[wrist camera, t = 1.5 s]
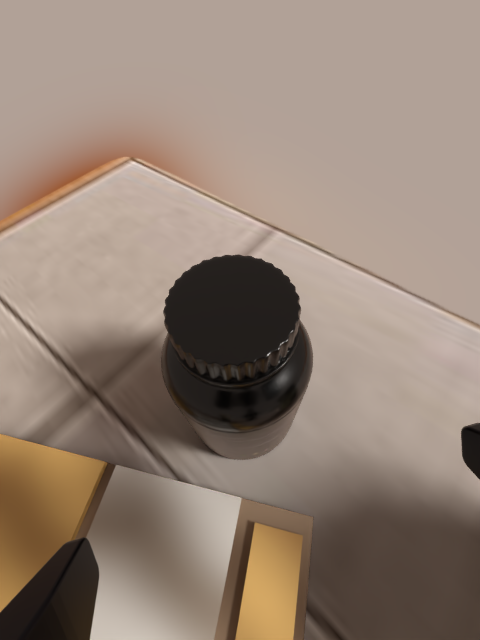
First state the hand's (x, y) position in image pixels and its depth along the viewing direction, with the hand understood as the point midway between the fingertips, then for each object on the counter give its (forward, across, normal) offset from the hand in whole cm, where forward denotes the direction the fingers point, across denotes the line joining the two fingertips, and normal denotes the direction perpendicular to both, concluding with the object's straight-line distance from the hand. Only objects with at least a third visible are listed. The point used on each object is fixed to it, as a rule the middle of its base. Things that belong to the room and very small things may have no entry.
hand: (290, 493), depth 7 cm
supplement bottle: (+13, 0, +5) cm, 14 cm away
